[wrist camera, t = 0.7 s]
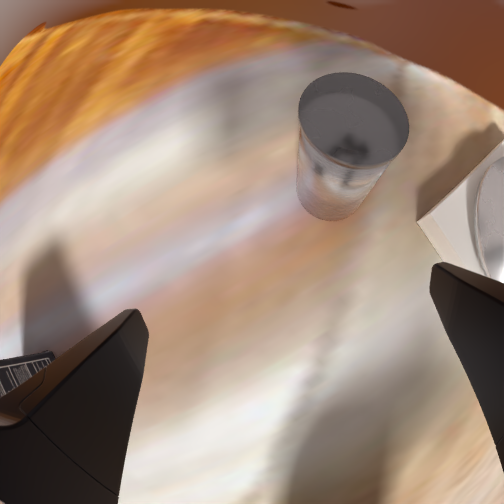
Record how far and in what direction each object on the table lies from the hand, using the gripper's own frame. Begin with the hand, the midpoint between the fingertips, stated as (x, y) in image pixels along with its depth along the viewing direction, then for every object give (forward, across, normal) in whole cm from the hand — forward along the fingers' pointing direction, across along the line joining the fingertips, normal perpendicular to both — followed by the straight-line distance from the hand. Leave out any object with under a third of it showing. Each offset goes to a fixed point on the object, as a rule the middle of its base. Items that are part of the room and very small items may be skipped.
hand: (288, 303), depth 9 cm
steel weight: (+15, -4, +1) cm, 16 cm away
